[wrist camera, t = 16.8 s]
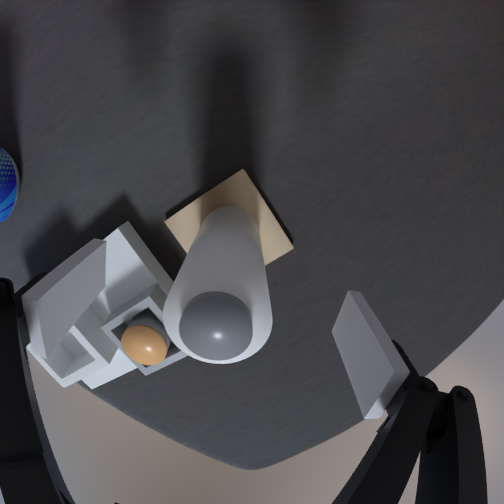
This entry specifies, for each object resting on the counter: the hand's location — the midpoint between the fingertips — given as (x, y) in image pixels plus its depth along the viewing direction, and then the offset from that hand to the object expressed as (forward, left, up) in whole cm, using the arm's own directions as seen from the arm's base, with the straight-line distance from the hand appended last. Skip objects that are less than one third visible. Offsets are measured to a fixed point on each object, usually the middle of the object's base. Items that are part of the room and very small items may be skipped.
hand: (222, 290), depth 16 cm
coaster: (0, 0, -11) cm, 12 cm away
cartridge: (0, 0, -11) cm, 11 cm away
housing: (+16, 0, -11) cm, 20 cm away
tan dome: (+11, +3, -9) cm, 14 cm away
